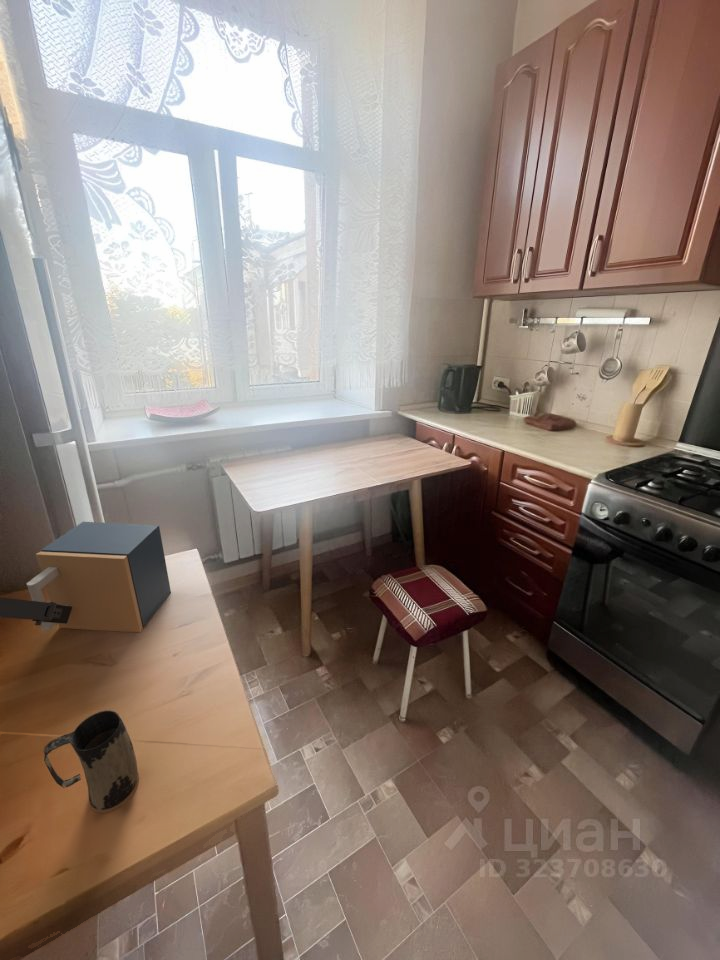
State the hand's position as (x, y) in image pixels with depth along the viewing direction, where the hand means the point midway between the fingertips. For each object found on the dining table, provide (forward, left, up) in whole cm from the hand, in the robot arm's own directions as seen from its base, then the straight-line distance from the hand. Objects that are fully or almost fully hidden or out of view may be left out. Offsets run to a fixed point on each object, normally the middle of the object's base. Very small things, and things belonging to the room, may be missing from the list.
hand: (28, 612), depth 66 cm
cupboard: (+5, +14, -10) cm, 18 cm away
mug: (+24, -20, -10) cm, 33 cm away
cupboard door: (+5, +5, -10) cm, 12 cm away
